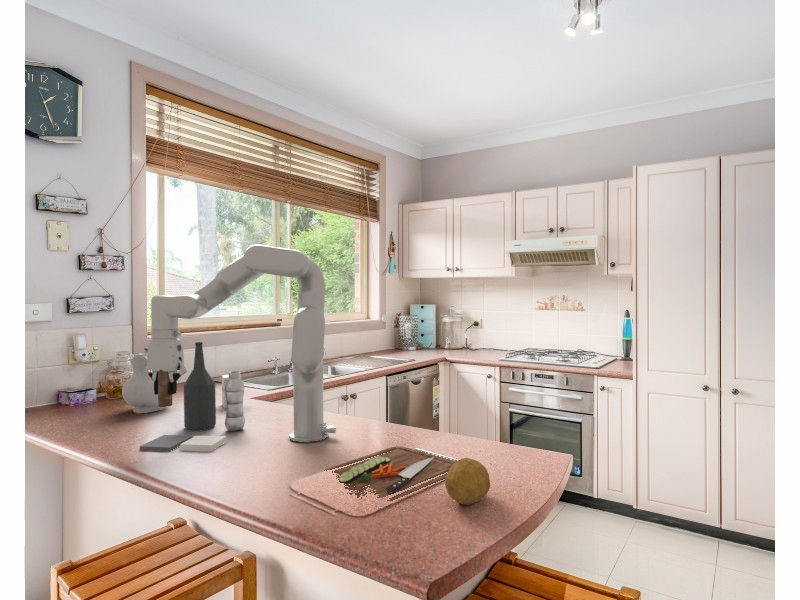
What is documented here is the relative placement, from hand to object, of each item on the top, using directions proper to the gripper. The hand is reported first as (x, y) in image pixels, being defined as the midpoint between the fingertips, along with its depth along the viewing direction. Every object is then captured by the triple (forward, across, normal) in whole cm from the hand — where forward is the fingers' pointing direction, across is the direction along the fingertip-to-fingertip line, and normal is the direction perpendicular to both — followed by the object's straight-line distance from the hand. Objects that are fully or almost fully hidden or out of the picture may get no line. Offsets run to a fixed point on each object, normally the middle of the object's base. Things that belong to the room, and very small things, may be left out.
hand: (165, 393), depth 156 cm
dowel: (+4, 0, 0) cm, 4 cm away
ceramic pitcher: (+16, +36, -43) cm, 59 cm away
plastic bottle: (+16, -14, -18) cm, 28 cm away
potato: (+16, -94, +30) cm, 100 cm away
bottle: (+16, 0, -20) cm, 26 cm away
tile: (+15, -18, 0) cm, 23 cm away
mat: (+16, 0, 0) cm, 16 cm away
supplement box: (+16, +5, -53) cm, 56 cm away
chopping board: (+16, -72, +18) cm, 76 cm away
